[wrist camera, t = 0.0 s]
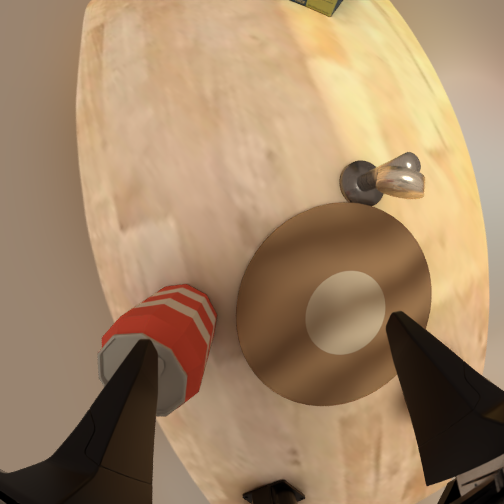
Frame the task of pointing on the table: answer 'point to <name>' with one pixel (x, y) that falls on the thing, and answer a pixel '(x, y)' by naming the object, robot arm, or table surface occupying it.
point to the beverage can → (165, 342)
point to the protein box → (321, 5)
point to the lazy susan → (330, 302)
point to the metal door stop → (383, 180)
